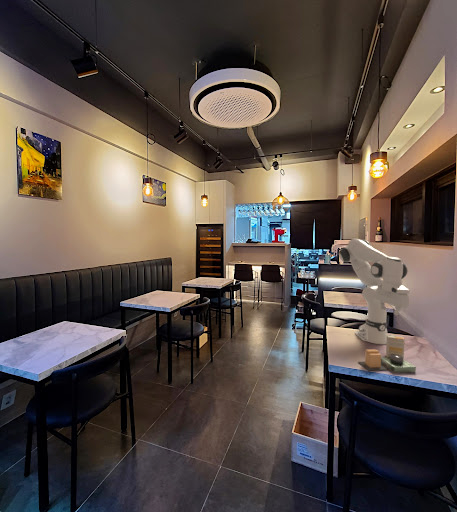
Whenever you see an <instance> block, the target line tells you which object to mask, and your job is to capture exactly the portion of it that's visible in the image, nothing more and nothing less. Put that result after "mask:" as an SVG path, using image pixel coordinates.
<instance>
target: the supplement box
mask: <svg viewBox="0 0 457 512" xmlns="http://www.w3.org/2000/svg"><path fill="white" fill-rule="evenodd" d="M405 341H406V340H405V337H403V336H402V335H395V334H393V335H392V334H387V343H386V344H385V357H390V354H398V355H401V356H402V357H403V359H404V360H405V358H404V357H405Z"/></svg>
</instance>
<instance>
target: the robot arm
mask: <svg viewBox="0 0 457 512" xmlns="http://www.w3.org/2000/svg"><path fill="white" fill-rule="evenodd" d="M338 257H339V259H340V260H341V262H344V263H349V262H350V264H351V267H352V269H353V271H354V272H355V274H356V276H357V277H358V279H359V280H360V282H361V283H362V284H363V285H365V287H364V288H363V290H362V292H361V293H362V294H361V295H362V298H363V299H364V300H365V302H366V304H367V305H366V307H367V318H366V319H365V323H364V324H362V325H360V326H359V327H358V331H354V334H355V336H357V337H358V338H359V339H360V340H362V341H363V342H368V343H372V344H376V345H386V343H387V335H388V329H387V325H388V322H387V313H388V311H387V309H386V308H387V307H386V304H388V305H390V306H393V307H395V310H393V315H394V316H399V314H400V311H401V310H402V309H404V310H405V309H407V308H409V301H410V299H409V298H410V297H409V294H410V290H409V288H407V287H405V286H404V285H403V281H402V280H403V279H404V278H405V277H406V276H407V275H408V272H409V271H408V268H407V266H406V264H405V263H403V260H402V259H401V258H399V257H397V256H388V255H387V254H385V253H384V252H381V251H380V250H377V249H375V248H374V247H373V246H372V245H371V243H370V242H369V240H366V239H360V238H352V239H350V240H349V241H348V242H347V246H345V247H343V248H341V249H339V251H338ZM369 262H371V263H372V265H371V264H370V263H369Z"/></svg>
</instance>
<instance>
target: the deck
mask: <svg viewBox="0 0 457 512" xmlns="http://www.w3.org/2000/svg"><path fill="white" fill-rule="evenodd" d="M381 365H383V366H384V367H385V368H387V369H388V371H390V372H392V373H394V374H401V373H403V374H405V373H407V374H408V373H411V374H412V373H416V370H417V368H416V367H417V366H415V365H414V364H412V363H410V362H408V361H407V360H405V358H404V359H403V357H402V356H401V355H398V354H390V357H387V356H381Z"/></svg>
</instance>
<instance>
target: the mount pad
mask: <svg viewBox="0 0 457 512" xmlns="http://www.w3.org/2000/svg"><path fill="white" fill-rule="evenodd" d="M357 364H359V365H360V366H361V367H363V368H364V369H366V370H367V371H368V372H377V371H379V372H382V371H383V372H385V371H389V369H388V368H386V367H385V366H384V365H382V364H381V367H372V368H370V367H369V366H367V365H366V364H365V361H358V362H357Z"/></svg>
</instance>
